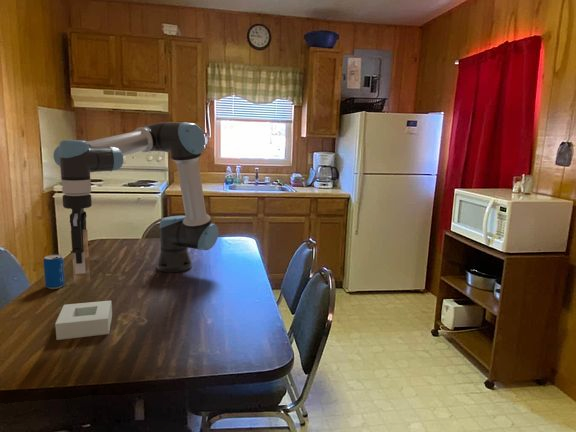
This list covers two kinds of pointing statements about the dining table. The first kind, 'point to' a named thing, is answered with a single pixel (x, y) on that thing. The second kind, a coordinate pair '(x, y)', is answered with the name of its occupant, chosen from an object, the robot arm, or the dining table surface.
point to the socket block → (84, 320)
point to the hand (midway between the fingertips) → (81, 270)
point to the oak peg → (85, 277)
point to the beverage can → (54, 271)
